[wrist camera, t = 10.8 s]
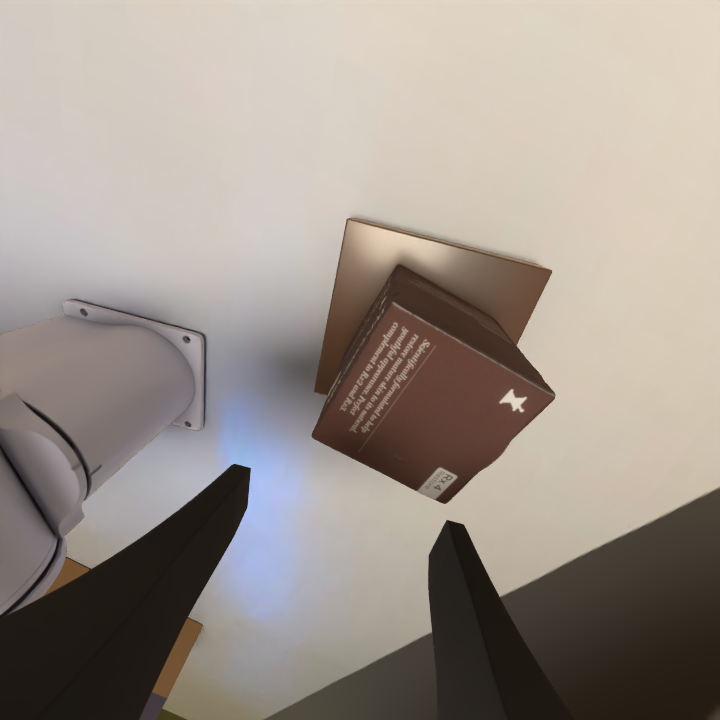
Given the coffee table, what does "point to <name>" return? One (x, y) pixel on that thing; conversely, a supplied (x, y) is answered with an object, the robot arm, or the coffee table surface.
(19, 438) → the robot arm
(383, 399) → the box
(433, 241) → the copper block
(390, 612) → the coffee table surface
